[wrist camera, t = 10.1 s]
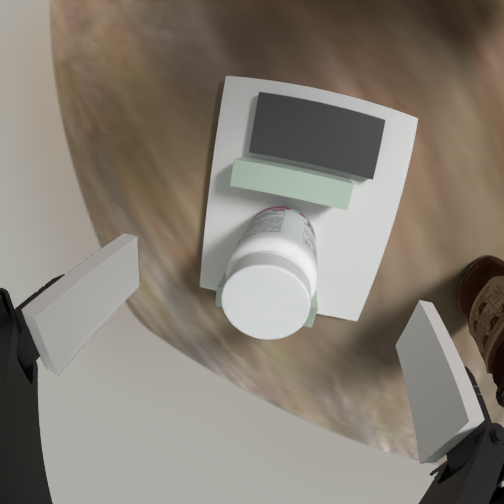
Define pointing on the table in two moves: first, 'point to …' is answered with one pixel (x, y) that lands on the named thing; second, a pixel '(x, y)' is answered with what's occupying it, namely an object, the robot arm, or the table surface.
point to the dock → (330, 224)
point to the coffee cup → (486, 314)
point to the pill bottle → (272, 275)
